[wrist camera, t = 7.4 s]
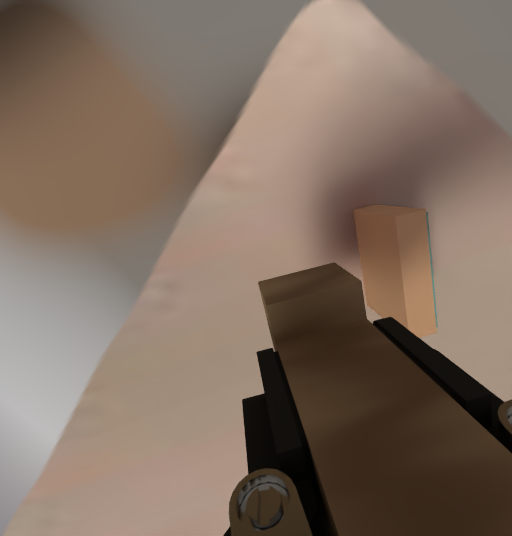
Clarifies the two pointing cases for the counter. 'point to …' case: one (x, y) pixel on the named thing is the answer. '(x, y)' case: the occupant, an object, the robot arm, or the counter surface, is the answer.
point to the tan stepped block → (381, 421)
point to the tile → (397, 265)
